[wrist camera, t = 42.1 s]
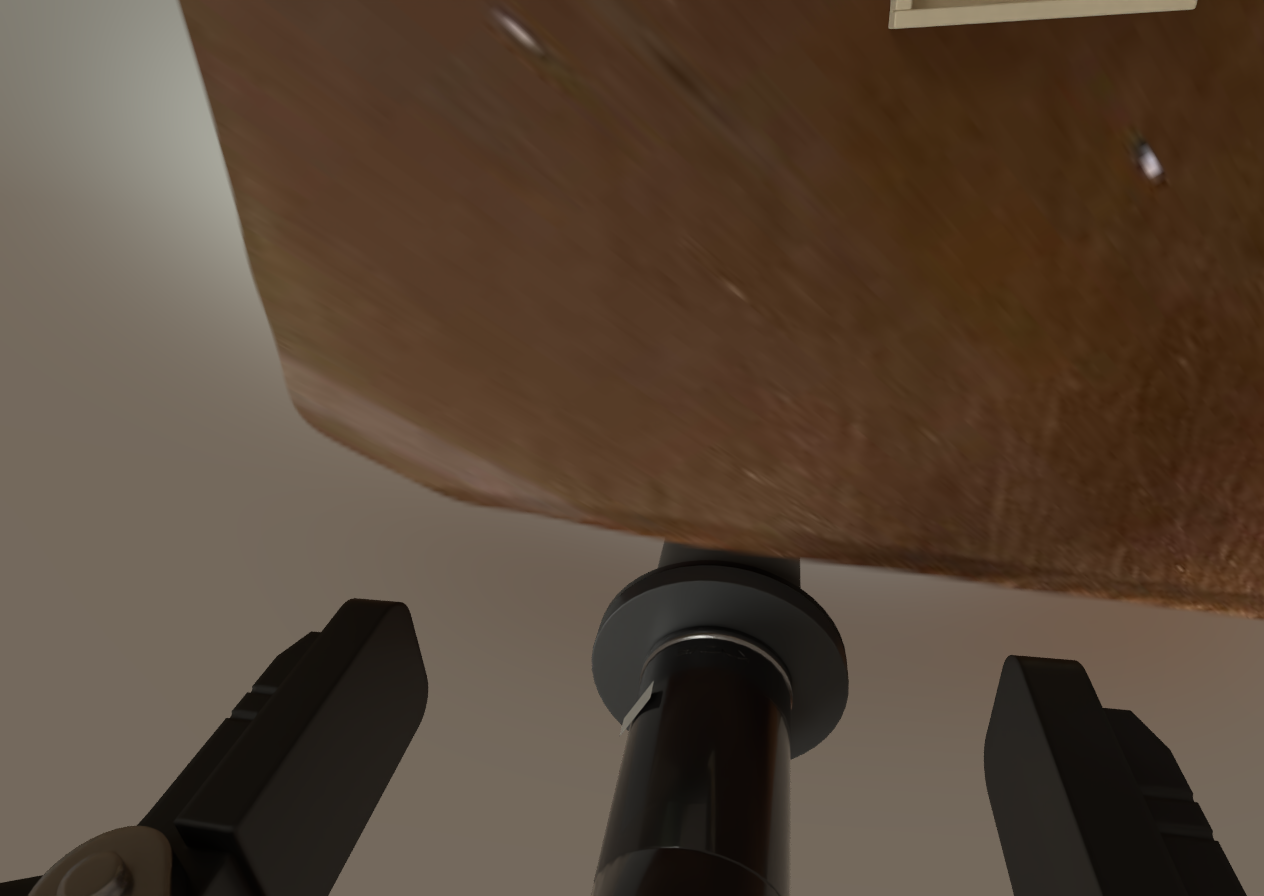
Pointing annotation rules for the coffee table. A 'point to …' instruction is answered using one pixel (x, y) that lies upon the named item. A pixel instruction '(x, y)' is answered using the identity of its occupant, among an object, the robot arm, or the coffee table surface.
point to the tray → (1016, 10)
